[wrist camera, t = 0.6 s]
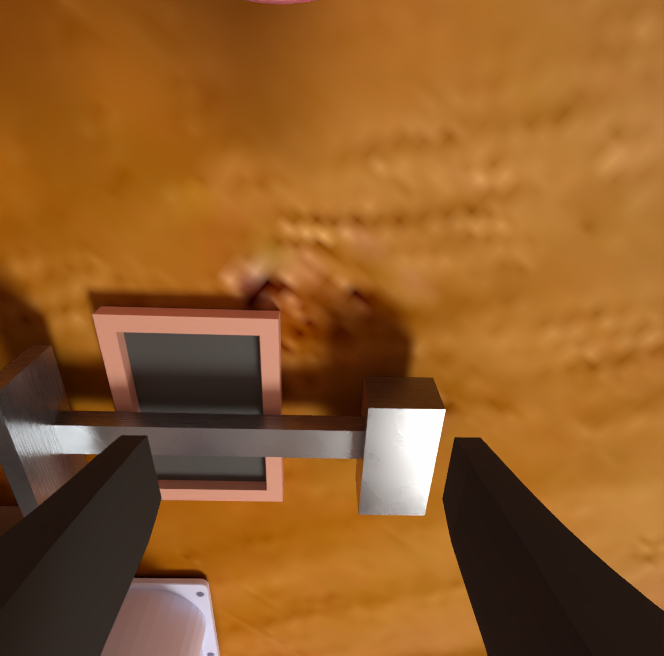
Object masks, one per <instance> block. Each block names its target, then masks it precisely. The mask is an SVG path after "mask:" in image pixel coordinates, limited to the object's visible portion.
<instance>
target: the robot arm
mask: <svg viewBox="0 0 664 656" xmlns="http://www.w3.org/2000/svg"><path fill="white" fill-rule="evenodd" d="M161 498H162V497H161V493H160V488H159V484H158V480H157V475H156V471H155V467H154V462H153V458H152V453H151V449H150V445H149V440H148V436H147V435H121V436H120V437H118V438H117V439H116V440H115V441H113V442H112V443H111V444H110V445H109V446H108V447H106V448H105V449H104V450H103V451H102V452H101V453H100V454H98V455H97V456H96V457H95V458H94V459H93V460H92V461H90V462H89V463H88V464H87V465H86V466H85V467H84V468H82V469H81V470H80V471H79V472H78V473H77V474H76V475H74V476H73V477H72V478H71V479H70V480H69V481H67V482H66V483H65V484H64V485H63V486H62V487H60V488H59V489H58V490H57V491H56V492H54V493H53V494H52V495H51V496H50V497H49V498H47V499H46V500H45V501H44V502H43V503H42V504H40V505H39V506H38V507H37V508H36V509H34V510H33V511H32V512H30V513H29V514H28V515H27V516H25V517H24V518H23V519H22V520H20V521H19V522H18V523H17V524H15V525H14V526H13V527H12V528H10V529H9V530H8V531H6V532H5V533H4V534H3V535H1V536H0V656H220V652H219V646H218V640H217V633H216V627H215V621H214V614H213V608H212V602H211V595H210V589H209V583H208V582H207V581H206V580H204V579H196V578H134V576H135V573H136V571H137V569H138V566H139V564H140V562H141V559H142V557H143V554H144V552H145V550H146V547H147V545H148V542H149V539H150V536H151V533H152V530H153V526H154V523H155V520H156V516H157V513H158V509H159V505H160V502H161ZM443 504H444V509H445V514H446V519H447V524H448V529H449V534H450V538H451V543H452V546H453V549H454V552H455V555H456V559H457V562H458V565H459V568H460V571H461V574H462V577H463V580H464V583H465V586H466V590H467V593H468V596H469V599H470V602H471V605H472V608H473V611H474V614H475V617H476V620H477V623H478V626H479V629H480V632H481V635H482V639H483V642H484V645H485V648H486V651H487V655H488V656H664V611H663V610H662V609H660V608H659V607H658V606H657V605H655V604H654V603H653V602H651V601H650V600H649V599H648V598H647V597H645V596H644V595H643V594H642V593H641V592H639V591H638V590H637V589H636V588H634V587H633V586H632V585H631V584H630V583H628V582H627V581H626V580H625V579H624V578H622V577H621V576H620V575H619V574H618V573H616V572H615V571H614V570H613V569H612V568H610V567H609V566H608V565H607V564H606V563H605V562H604V561H602V560H601V559H600V558H599V557H598V556H597V555H596V554H595V553H593V552H592V551H591V550H590V549H589V548H588V547H587V546H586V545H585V544H584V543H583V542H582V541H580V540H579V539H578V538H577V537H576V536H575V535H574V534H573V533H572V532H571V531H570V530H569V529H568V528H566V527H565V526H564V525H563V524H562V523H561V522H560V521H559V520H558V519H557V518H556V517H555V516H554V515H553V514H552V513H551V512H550V511H549V510H548V509H547V508H546V507H545V506H544V505H543V504H542V503H541V502H540V501H539V500H538V499H537V498H536V497H535V496H534V495H533V494H532V492H531V491H530V490H529V489H528V488H527V487H526V486H525V485H524V484H523V483H522V482H521V481H520V480H519V479H518V478H517V477H516V476H515V474H514V473H513V472H512V471H511V470H510V469H509V468H508V467H507V466H506V465H505V464H504V463H503V462H502V460H501V459H500V458H499V457H498V456H497V455H496V454H495V453H494V452H493V451H492V450H491V449H490V447H489V446H488V445H487V444H486V443H485V442H484V441H483V440H482V439H481V438H461V437H455V438H454V443H453V448H452V453H451V458H450V463H449V468H448V473H447V479H446V484H445V489H444V494H443Z"/></svg>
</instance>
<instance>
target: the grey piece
mask: <svg viewBox="0 0 664 656" xmlns="http://www.w3.org/2000/svg"><path fill="white" fill-rule="evenodd" d="M444 414H445V407H444V405H443V402H442V400H441V397H440V395H439V392H438V390H437V387H436V384H435V382H434V379H433V378H420V377H375V376H364V383H363V395H362V407H361V416H311V415H261V414H211V413H161V412H111V411H71V408H70V405H69V401H68V398H67V395H66V392H65V388H64V385H63V382H62V378H61V375H60V372H59V369H58V365H57V362H56V359H55V355H54V352H53V349H52V346H51V345H31V346H30V347H29V348H27V349H26V350H25V351H24V352H23V353H21V354H20V355H19V356H18V357H16V358H15V359H14V360H13V361H12V362H10V363H9V364H8V365H7V366H5V367H4V368H3V369H2V370H1V371H0V464H1V466H2V468H3V470H4V473H5V475H6V477H7V480H8V482H9V484H10V487H11V489H12V491H13V494H14V496H15V498H16V501H17V503H18V505H19V508H20V510H21V512H22V515H23V517H25V516H27V515H28V514H29V513H30V512H32V511H33V510H34V509H36V508H37V507H38V506H39V505H40V504H42V503H43V502H44V501H45V500H46V499H47V498H49V497H50V496H51V495H52V494H53V493H54V492H56V491H57V490H58V489H59V488H60V487H62V486H63V485H64V484H65V483H66V482H67V481H69V480H70V479H71V478H72V477H73V476H74V475H76V474H77V473H78V472H79V471H80V470H81V469H82V468H84V467H85V466H86V465H87V460H86V457H85V454H100V453H101V452H102V451H103V450H104V449H105V448H106V447H108V446H109V445H110V444H111V443H112V442H113V441H115V440H116V439H117V438H118V437H120V436H121V435H147V436H148V440H149V445H150V449H151V453H152V455H174V456H233V457H291V458H350V459H357V466H356V488H357V501H358V513H359V514H363V515H425V511H426V505H427V500H428V495H429V490H430V485H431V480H432V475H433V470H434V465H435V460H436V455H437V450H438V445H439V440H440V435H441V429H442V424H443V419H444Z"/></svg>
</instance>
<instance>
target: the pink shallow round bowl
mask: <svg viewBox="0 0 664 656" xmlns="http://www.w3.org/2000/svg"><path fill="white" fill-rule="evenodd" d="M247 1H252V2H259V3H268V4H294V3H303V2H310V1H315V0H247Z"/></svg>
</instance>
